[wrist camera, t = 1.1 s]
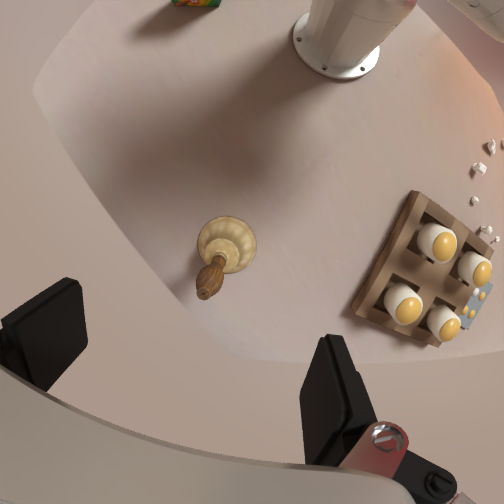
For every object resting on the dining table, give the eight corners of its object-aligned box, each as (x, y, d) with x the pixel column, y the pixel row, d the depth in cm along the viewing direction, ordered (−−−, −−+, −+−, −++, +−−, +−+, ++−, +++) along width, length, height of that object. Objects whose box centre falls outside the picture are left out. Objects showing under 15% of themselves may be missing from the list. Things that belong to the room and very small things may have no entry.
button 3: (437, 300, 38) (450, 313, 33) (453, 309, 38) (466, 321, 34) (421, 325, 39) (433, 339, 35) (438, 333, 39) (450, 346, 35)
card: (476, 272, 39) (478, 274, 38) (491, 284, 39) (493, 285, 38) (450, 319, 41) (451, 321, 41) (466, 327, 42) (467, 329, 41)
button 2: (426, 216, 34) (441, 223, 30) (447, 231, 34) (463, 238, 30) (411, 246, 35) (426, 255, 31) (433, 259, 36) (448, 269, 32)
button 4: (466, 246, 35) (482, 254, 30) (481, 258, 35) (496, 266, 31) (453, 272, 36) (467, 283, 32) (468, 283, 36) (483, 293, 32)
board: (411, 190, 36) (419, 191, 33) (485, 246, 37) (494, 250, 35) (350, 306, 42) (354, 314, 39) (432, 340, 43) (438, 347, 40)
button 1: (394, 278, 37) (406, 290, 33) (416, 289, 37) (429, 302, 33) (377, 306, 38) (388, 320, 34) (400, 316, 39) (411, 330, 34)
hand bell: (266, 231, 39) (263, 272, 24) (241, 281, 42) (225, 344, 26) (211, 206, 39) (174, 230, 23) (190, 257, 41) (148, 307, 26)
